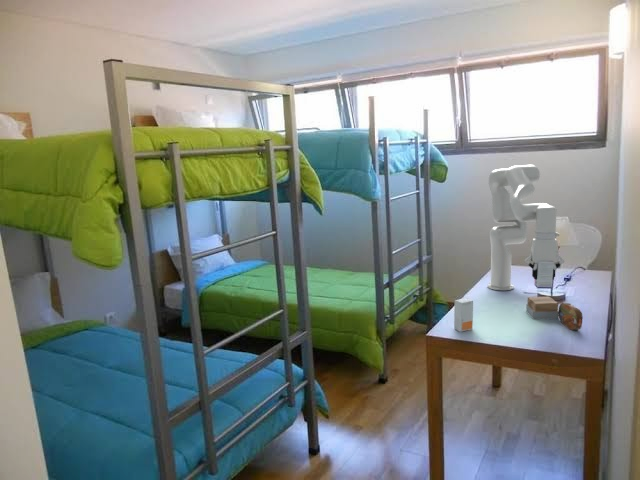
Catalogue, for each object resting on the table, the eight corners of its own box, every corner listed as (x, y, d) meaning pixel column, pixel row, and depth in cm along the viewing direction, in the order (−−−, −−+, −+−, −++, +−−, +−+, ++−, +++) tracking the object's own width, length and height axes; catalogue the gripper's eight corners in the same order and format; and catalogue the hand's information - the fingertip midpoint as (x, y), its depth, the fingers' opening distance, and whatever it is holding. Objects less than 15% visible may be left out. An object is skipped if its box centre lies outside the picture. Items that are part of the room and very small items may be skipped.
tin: (557, 319, 197) (558, 299, 196) (565, 319, 197) (566, 299, 196) (574, 333, 182) (576, 312, 181) (583, 333, 182) (584, 311, 181)
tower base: (526, 312, 209) (526, 304, 208) (550, 312, 207) (551, 304, 207) (532, 319, 199) (532, 311, 199) (558, 320, 198) (558, 312, 197)
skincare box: (461, 332, 188) (461, 302, 186) (453, 328, 192) (454, 300, 190) (473, 329, 191) (473, 300, 189) (466, 326, 195) (466, 297, 192)
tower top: (527, 304, 207) (527, 297, 207) (548, 304, 207) (549, 296, 206) (535, 311, 199) (535, 303, 198) (557, 311, 198) (558, 303, 197)
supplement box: (552, 288, 197) (553, 261, 195) (537, 288, 198) (538, 261, 196) (549, 284, 203) (550, 258, 201) (534, 284, 204) (534, 258, 202)
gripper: (564, 234, 199) (562, 276, 202) (520, 234, 202) (519, 276, 205) (570, 237, 192) (568, 281, 195) (525, 237, 195) (523, 281, 198)
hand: (543, 278), depth 200 cm, fingers closed on supplement box, 5 cm apart
